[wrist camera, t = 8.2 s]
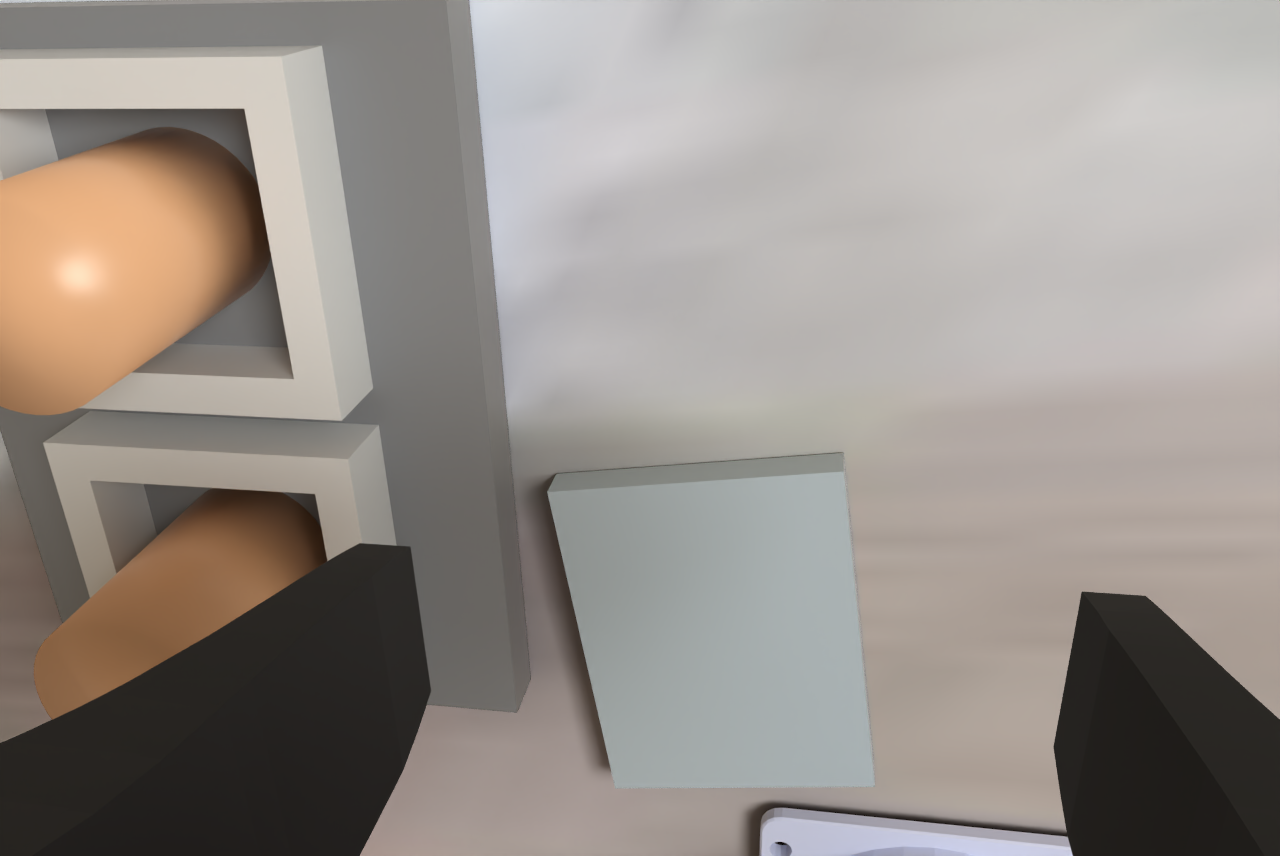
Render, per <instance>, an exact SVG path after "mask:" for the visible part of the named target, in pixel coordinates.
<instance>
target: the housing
mask: <svg viewBox="0 0 1280 856" xmlns="http://www.w3.org/2000/svg"><path fill="white" fill-rule="evenodd" d="M158 127H175V128H182V129H186V130H191V131H194V132H197V133H199V134H202V135H204V136H206V137H208V138H210V139H212V140H214V141H216V142H217V143H219V144H220V145H222V146H223V147H225V148H226V149H227V150H228V151H230V152H231V153H232V154H233V155H234V156H236V157H237V158H238V159H239V161H240V162H241V163H242V164H243V165H244V166H245V167H246V168H247V170H248V171H249V172H250V173H251V175H252V176H253V177H254V179H255V181H256V182H257V184H258V186H259V191H260V197H261V202H262V208H263V213H264V219H265V224H266V229H267V235H268V240H269V246H270V251H271V258H270V261H269V264H268V267H267V269H266V270H265V272H264V274H263V276H262V277H261V279H260V280H259V282H258V283H257V284H256V285H255V286H254V287H253V288H252V289H251V290H250V291H248V292H247V293H246V294H244V295H243V296H241V297H240V298H238V299H237V300H235V301H234V302H233V303H231V304H230V305H228V306H227V307H225V308H224V309H222V310H221V311H220V312H218V313H217V314H215V315H214V316H212V317H211V318H209V319H208V320H207V321H205V322H204V323H202V324H201V325H199V326H198V327H196V328H195V329H193V330H192V331H191V332H189V333H188V334H186V335H185V336H183V337H182V338H180V339H179V340H178V341H176V342H175V343H173V344H172V345H170V346H169V347H167V348H166V349H165V350H163V351H162V352H160V353H159V354H157V355H156V356H154V357H153V358H152V359H150V360H149V361H147V362H146V363H144V364H143V365H141V366H140V367H139V368H137V369H136V370H134V371H133V372H131V373H130V374H128V375H127V376H125V377H124V378H123V379H121V380H120V381H118V382H117V383H115V384H114V385H112V386H111V387H110V388H108V389H107V390H105V391H104V392H102V393H101V394H99V395H98V396H97V397H95V398H94V399H92V400H91V401H89V402H88V403H86V404H85V405H84V406H81V407H79V408H77V409H75V410H73V411H69V412H66V413H62V414H55V415H32V414H25V413H20V412H16V411H12V410H9V409H6V408H3V407H1V406H0V430H1V433H2V436H3V440H4V443H5V446H6V449H7V452H8V455H9V458H10V461H11V464H12V468H13V471H14V474H15V477H16V480H17V483H18V486H19V489H20V493H21V496H22V499H23V502H24V505H25V508H26V511H27V514H28V517H29V521H30V524H31V527H32V530H33V533H34V536H35V539H36V542H37V545H38V549H39V552H40V555H41V558H42V561H43V564H44V567H45V570H46V573H47V577H48V580H49V583H50V586H51V589H52V592H53V595H54V598H55V601H56V605H57V608H58V611H59V614H60V617H61V620H62V623H64V622H65V621H66V620H67V619H68V618H69V617H70V616H71V615H73V614H74V613H75V612H76V611H77V610H78V609H79V608H80V607H81V606H82V605H83V604H84V603H86V602H87V601H88V600H89V599H90V598H91V597H92V596H93V595H94V594H95V593H96V592H97V591H99V590H100V589H101V588H102V587H103V586H104V585H105V584H106V583H107V582H108V581H109V580H110V579H111V578H113V577H114V576H115V575H116V574H117V573H118V572H119V571H120V570H121V569H122V568H123V567H124V566H126V565H127V564H128V563H129V562H130V561H131V560H132V559H133V558H134V557H135V556H136V555H137V554H139V553H140V552H141V551H142V550H143V549H144V548H145V547H146V546H147V545H148V544H149V543H150V542H151V541H153V540H154V539H155V538H156V537H157V536H158V535H159V534H160V533H161V532H162V531H163V530H164V529H166V528H167V527H168V526H169V525H170V524H171V523H172V522H173V521H174V520H175V519H176V518H177V517H179V516H180V515H181V514H182V513H183V512H184V511H185V510H186V509H187V508H188V507H189V506H190V505H192V504H193V503H194V502H195V501H196V500H197V499H198V498H199V497H200V496H201V495H202V494H203V493H205V492H206V491H208V490H209V489H211V488H223V489H240V490H257V491H274V492H282V493H284V494H286V495H287V496H289V497H291V498H292V499H294V500H295V501H296V502H298V503H299V504H300V505H302V506H303V507H304V508H305V509H306V510H307V511H308V512H309V513H310V514H311V515H312V516H313V517H314V518H315V520H316V521H317V522H318V524H319V525H320V526H321V529H322V534H323V540H324V545H325V550H326V556H327V561H329V560H330V559H332V558H334V557H335V556H337V555H339V554H341V553H342V552H344V551H346V550H348V549H350V548H352V547H353V546H355V545H357V544H359V543H366V544H381V545H395V546H410V547H411V553H412V560H413V567H414V574H415V581H416V588H417V595H418V602H419V609H420V616H421V623H422V630H423V637H424V644H425V651H426V658H427V665H428V672H429V679H430V686H431V693H430V696H429V699H428V702H427V705H438V706H449V707H460V708H471V709H482V710H492V711H503V712H514V713H517V712H518V710H519V707H520V705H521V702H522V700H523V697H524V695H525V692H526V690H527V687H528V685H529V682H530V680H531V675H530V664H529V653H528V642H527V631H526V620H525V609H524V598H523V587H522V576H521V565H520V554H519V543H518V532H517V522H516V511H515V500H514V489H513V478H512V467H511V456H510V445H509V434H508V423H507V412H506V401H505V390H504V379H503V368H502V357H501V346H500V335H499V324H498V313H497V302H496V291H495V280H494V269H493V258H492V247H491V236H490V225H489V214H488V203H487V192H486V181H485V170H484V159H483V148H482V137H481V126H480V115H479V104H478V93H477V82H476V71H475V60H474V49H473V38H472V27H471V16H470V5H469V0H136V1H85V2H34V3H0V181H1V180H4V179H7V178H9V177H12V176H15V175H18V174H21V173H24V172H27V171H30V170H32V169H35V168H38V167H41V166H44V165H47V164H50V163H53V162H55V161H58V160H61V159H64V158H67V157H70V156H73V155H75V154H78V153H81V152H84V151H87V150H90V149H93V148H96V147H98V146H101V145H104V144H107V143H110V142H113V141H116V140H119V139H121V138H124V137H127V136H130V135H133V134H136V133H139V132H142V131H144V130H147V129H152V128H158Z"/></svg>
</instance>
